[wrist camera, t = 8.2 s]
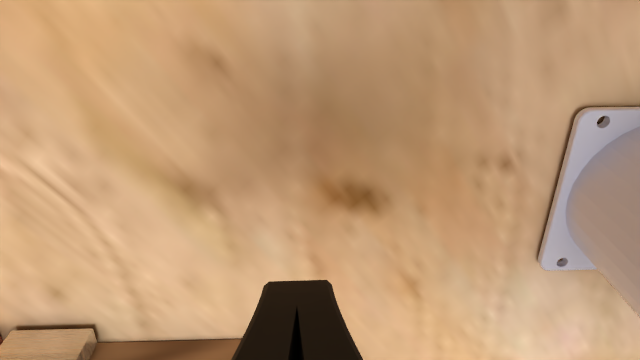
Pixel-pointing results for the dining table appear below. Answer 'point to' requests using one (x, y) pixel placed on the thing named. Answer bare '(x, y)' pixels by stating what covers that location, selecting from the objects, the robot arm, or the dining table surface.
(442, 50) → the dining table surface
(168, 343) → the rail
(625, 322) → the dining table surface
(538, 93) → the dining table surface
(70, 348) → the keeper
